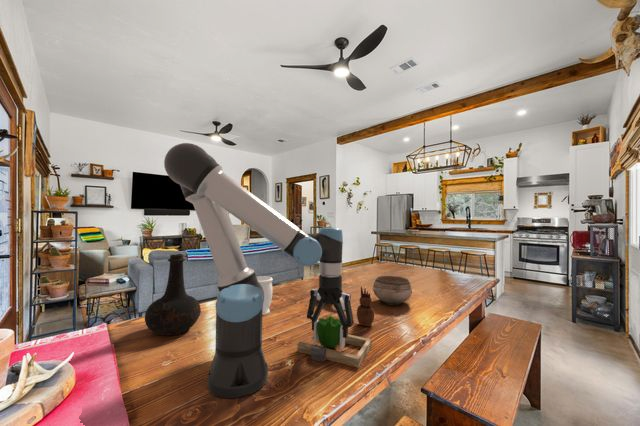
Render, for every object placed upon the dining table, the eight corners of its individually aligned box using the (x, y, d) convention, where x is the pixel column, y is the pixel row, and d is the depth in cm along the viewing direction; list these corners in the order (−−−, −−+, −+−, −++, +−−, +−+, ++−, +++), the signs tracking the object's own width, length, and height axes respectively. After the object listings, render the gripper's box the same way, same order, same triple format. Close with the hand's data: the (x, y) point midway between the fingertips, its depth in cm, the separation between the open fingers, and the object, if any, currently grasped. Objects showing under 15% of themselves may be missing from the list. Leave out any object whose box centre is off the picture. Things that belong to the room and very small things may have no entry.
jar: (266, 317, 115) (267, 282, 115) (243, 315, 117) (244, 280, 117) (275, 309, 125) (276, 276, 125) (254, 307, 127) (255, 275, 127)
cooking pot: (395, 294, 152) (396, 272, 152) (424, 304, 135) (424, 279, 136) (360, 301, 139) (360, 277, 139) (387, 313, 123) (387, 285, 123)
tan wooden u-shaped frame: (356, 371, 76) (356, 358, 76) (294, 354, 85) (294, 342, 85) (373, 344, 93) (373, 334, 93) (319, 332, 101) (319, 322, 101)
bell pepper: (317, 338, 94) (317, 309, 94) (341, 339, 94) (341, 310, 94) (315, 350, 86) (316, 318, 86) (342, 351, 86) (342, 319, 86)
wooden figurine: (354, 324, 109) (354, 286, 110) (362, 320, 114) (362, 284, 114) (368, 329, 105) (369, 290, 105) (376, 325, 109) (377, 287, 109)
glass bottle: (132, 336, 95) (134, 256, 96) (175, 318, 112) (177, 250, 112) (171, 345, 89) (172, 259, 90) (210, 325, 106) (212, 252, 106)
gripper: (365, 276, 89) (364, 346, 89) (307, 269, 98) (306, 332, 98) (358, 280, 82) (356, 356, 82) (296, 273, 91) (295, 341, 91)
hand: (329, 343), depth 90 cm, fingers closed on bell pepper, 8 cm apart
